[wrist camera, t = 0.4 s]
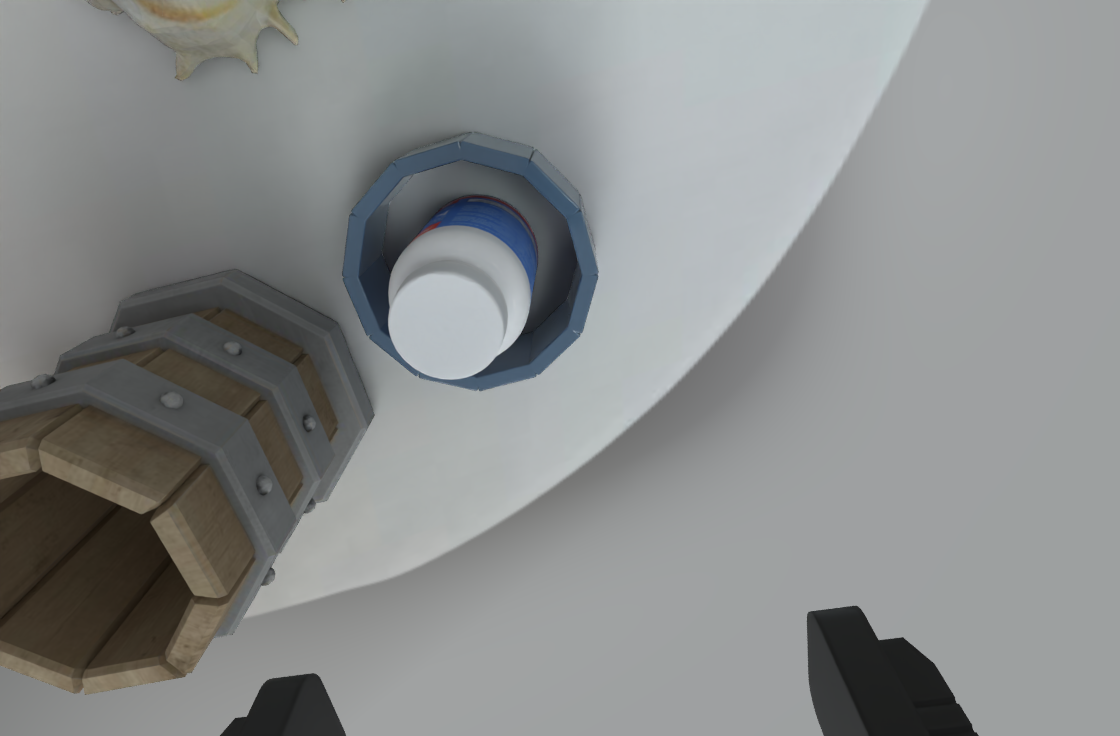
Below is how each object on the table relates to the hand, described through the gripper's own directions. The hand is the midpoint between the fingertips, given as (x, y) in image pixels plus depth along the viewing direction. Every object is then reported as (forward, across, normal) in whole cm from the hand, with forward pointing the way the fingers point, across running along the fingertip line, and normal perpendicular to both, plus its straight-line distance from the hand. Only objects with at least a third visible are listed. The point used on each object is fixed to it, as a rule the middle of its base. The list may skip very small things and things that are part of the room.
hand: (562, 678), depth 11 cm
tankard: (+24, +21, +4) cm, 32 cm away
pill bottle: (+23, +4, -2) cm, 24 cm away
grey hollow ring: (+23, +4, -2) cm, 24 cm away
